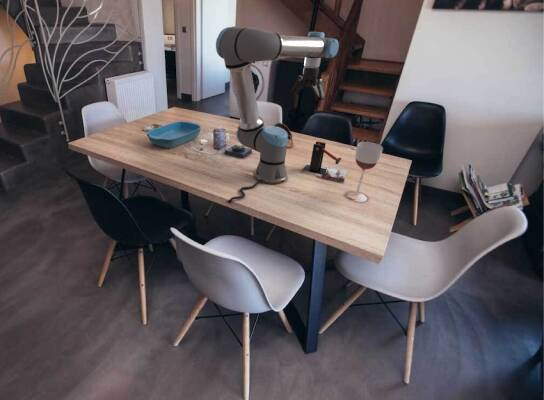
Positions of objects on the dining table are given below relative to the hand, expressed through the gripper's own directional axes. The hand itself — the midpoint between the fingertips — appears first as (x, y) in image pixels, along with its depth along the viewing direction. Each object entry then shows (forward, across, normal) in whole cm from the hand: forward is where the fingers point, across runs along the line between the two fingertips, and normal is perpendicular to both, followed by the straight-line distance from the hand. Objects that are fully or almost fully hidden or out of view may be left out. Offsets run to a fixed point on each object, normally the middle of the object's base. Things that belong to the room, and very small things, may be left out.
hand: (304, 110), depth 164 cm
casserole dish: (+25, +59, +45) cm, 79 cm away
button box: (+24, +20, +28) cm, 42 cm away
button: (+21, +20, +28) cm, 40 cm away
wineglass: (+25, -48, +19) cm, 57 cm away
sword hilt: (+24, +15, -3) cm, 29 cm away
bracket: (+24, -22, +13) cm, 35 cm away
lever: (+15, -25, +12) cm, 32 cm away
